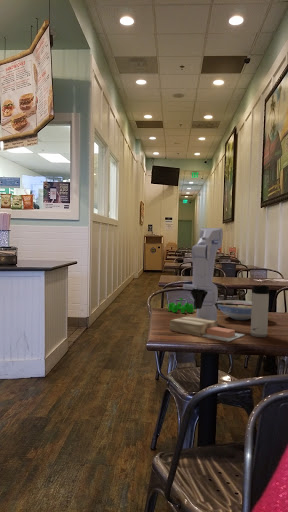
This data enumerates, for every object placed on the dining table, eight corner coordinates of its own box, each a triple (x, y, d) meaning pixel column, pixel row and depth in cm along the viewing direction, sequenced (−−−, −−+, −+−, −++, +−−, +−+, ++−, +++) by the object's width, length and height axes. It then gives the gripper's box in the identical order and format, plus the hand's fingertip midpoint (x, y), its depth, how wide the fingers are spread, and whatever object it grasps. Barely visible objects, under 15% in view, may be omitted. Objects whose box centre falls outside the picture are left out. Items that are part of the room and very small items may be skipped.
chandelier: (200, 312, 209) (201, 299, 209) (184, 315, 197) (185, 301, 197) (177, 308, 218) (177, 295, 218) (160, 311, 207) (161, 298, 207)
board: (188, 325, 172) (188, 316, 172) (217, 330, 164) (217, 320, 164) (169, 330, 161) (169, 320, 161) (199, 336, 153) (200, 325, 153)
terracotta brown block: (213, 331, 160) (214, 326, 160) (234, 335, 154) (235, 330, 154) (206, 333, 155) (206, 328, 155) (227, 337, 150) (227, 332, 150)
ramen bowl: (262, 316, 202) (262, 299, 202) (272, 325, 179) (272, 306, 179) (211, 313, 204) (212, 297, 204) (215, 322, 182) (216, 304, 181)
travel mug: (253, 337, 153) (256, 285, 153) (248, 333, 160) (250, 283, 159) (269, 337, 154) (272, 285, 153) (263, 333, 160) (265, 284, 160)
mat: (219, 331, 163) (219, 330, 163) (244, 335, 156) (244, 334, 156) (202, 336, 152) (202, 335, 152) (228, 341, 145) (228, 340, 145)
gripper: (179, 273, 162) (178, 307, 162) (211, 276, 153) (209, 312, 153) (188, 273, 167) (187, 305, 168) (219, 275, 158) (218, 310, 159)
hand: (198, 308), depth 161 cm, fingers closed
